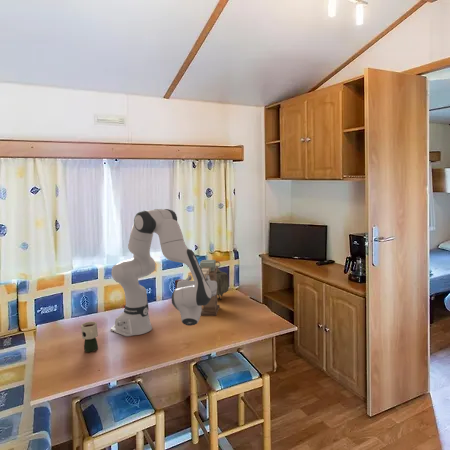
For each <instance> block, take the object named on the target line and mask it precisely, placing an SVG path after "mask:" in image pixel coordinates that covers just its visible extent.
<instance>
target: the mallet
mask: <svg viewBox="0 0 450 450" xmlns="http://www.w3.org/2000/svg"><path fill="white" fill-rule="evenodd" d="M216 262H217V261H216V259H202V260H201V261H200V263H199V265H200V267H201V270H202V272H203V275H204V277H205V279H206V275H208V274H209V273H210V271H214V270H215V269H216V266H217V263H216Z"/></svg>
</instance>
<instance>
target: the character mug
mask: <svg viewBox="0 0 450 450" xmlns="http://www.w3.org/2000/svg"><path fill="white" fill-rule="evenodd" d="M80 329H81V338H82V339H83V340H84V341H83V343H84V344H83V350H84V352H85V353H90V352H91V353H92V352H94V351H96V350H98V349H99V346H98V341H97V337H98V334H99V332H98V323H97V322H96V321H86V322H83V323H82V324H81V325H80Z"/></svg>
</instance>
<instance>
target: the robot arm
mask: <svg viewBox="0 0 450 450" xmlns="http://www.w3.org/2000/svg"><path fill="white" fill-rule="evenodd" d="M154 233H155V234H157V235H158V238H159V245H160V249H161V252H162V254H163V257H164V258H166V259H167V260H169V261H171V262H174V263H180V264H181V263H182V264H184V265H186V267H188V269H189V270H190V273H191V275H188V277H187V278H186V279H184V280H185V281H179V282H178V283H177V289H174V290H173V292H172V294H171V304H172V306H173V307H174V308H175V309H176V310H177V311H178V312H179V313H180V320H181V323H182V324H183V325H185V326H189V327H190V326H195V325H197V324H199V322H200V318H201V312H202V310H203V307H202V306H203V305H207V304H208V303H209V301H210V300H211V298H212V297H213V296H215V295H216V293H217V291H216V290H217V282H216V281H211V280H210V277H209V275H206V280H208V281H206V280H205V277H204V275H203V272H202V270H201V267H200V263H199V260H198V258H197V256H196V253H195V252H194V251H193V249H190V248H189V247H188V246H187V245H186V242H185V241H184V235H183V232H182V229H181V227H180V224H179V223H178V216H177V214H176V212H175V211H174V210H172V209H169V208H168V209H167V208H163V209H162V208H159V209H158V208H155V209H149V210H141V211H139V212H137V213H136V214H135V216H134V218H133V225H132V227H131V230H130V234H129V235H130V236H129V240H128V245H127V247H128V251H129V252H130V253H131V254H133V255H132V258H129V259H126V260H121V261H120V262H118V263H115V264H114V265H113V266H112V268H111V271H110V272H111V277H112V279H113V280H114V281H115V282H116V283H118V284H119V285H120V286H121V287H122V289H123V292H124V296H125V297H124V298H125V305H122V309H123V311H122V312H121V313H120V314H119V315H118V316H116V317H115V320H114V325H112V326H111V327H110V331H111V332H113V331H114V332H113V333H117V334H119V335H121V336H123V337H131V336H139V335H143V334H144V335H145V334H147V333H149V332H150V331H152V329H153V326H152V324H151V320H150V314H149V303H148V296H147V289H146V287H144V286H143V285H141V284H140V282H139V279H141V278H144V277H147V276H149V275H151V274H152V273H154V271H155V270H156V261H155V259H154V258H153V257H152V256H151V248H152V247H151V245H152V241H153V236H154ZM192 278H193V280H192ZM189 280H190V281H189Z"/></svg>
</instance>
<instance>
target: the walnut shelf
mask: <svg viewBox="0 0 450 450" xmlns="http://www.w3.org/2000/svg"><path fill="white" fill-rule="evenodd" d="M218 266H219V265H216V269H215V270H214V271H210V273H209V274H208V275H209V277H210V280H211V281H216V272H217V270H218V269H219V267H218ZM205 280H206V279H205ZM206 281H208V280H206ZM216 282H217V281H216ZM216 291H217V290H216ZM202 306H203V307H202V311H201V316H202V317H203V316H205V317H206V316H207V317H208V316H211V317H212V316H215V317H216V316H217V314H218V312H219V309H220V304H218V295H217V293H216V295H215V296H213V297H212V298H211V300H210V301H209V303H208V304H207V305H202ZM201 316H200V317H201Z"/></svg>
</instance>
